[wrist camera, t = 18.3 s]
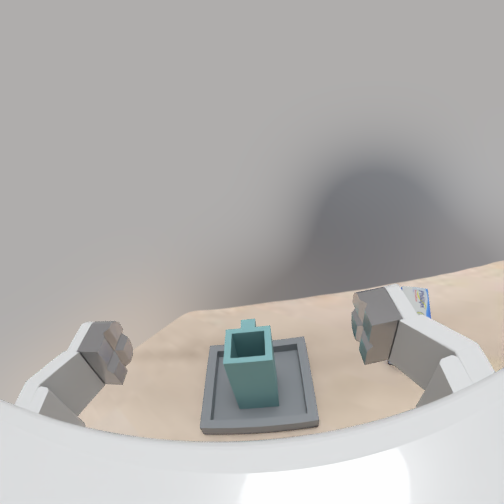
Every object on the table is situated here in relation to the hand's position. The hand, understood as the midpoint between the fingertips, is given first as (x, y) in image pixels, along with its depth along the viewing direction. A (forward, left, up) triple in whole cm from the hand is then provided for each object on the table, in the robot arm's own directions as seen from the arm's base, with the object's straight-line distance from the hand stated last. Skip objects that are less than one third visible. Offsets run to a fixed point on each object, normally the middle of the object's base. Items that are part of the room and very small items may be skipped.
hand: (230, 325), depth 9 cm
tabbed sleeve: (+2, -14, -26) cm, 29 cm away
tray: (+2, -15, -27) cm, 30 cm away
